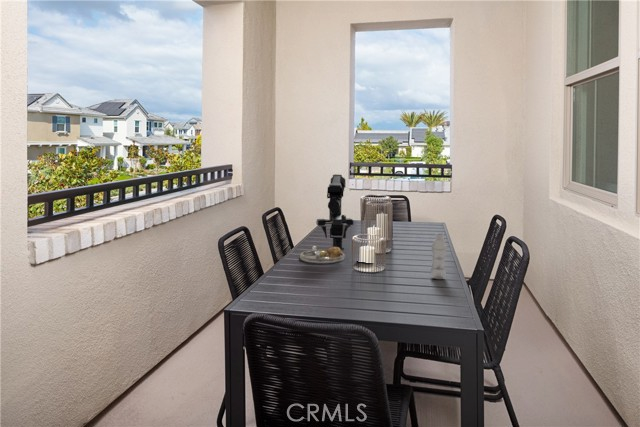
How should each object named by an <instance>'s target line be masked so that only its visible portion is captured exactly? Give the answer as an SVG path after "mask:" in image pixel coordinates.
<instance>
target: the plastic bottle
mask: <svg viewBox="0 0 640 427" xmlns="http://www.w3.org/2000/svg"><path fill="white" fill-rule="evenodd" d="M434 239H435V240H434V241H433V243H432V245H431V252H432V255H431V256H432V261H431V267H430V277H431V278H432V279H435V280H443V279H445V277H446V274H447V272H446V255H447V249H448V245H447V244H446V241H445V235H444V234H441V233H436V234H435V236H434Z"/></svg>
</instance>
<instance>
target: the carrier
mask: <svg viewBox="0 0 640 427" xmlns="http://www.w3.org/2000/svg"><path fill="white" fill-rule="evenodd" d="M299 256H300V260H301V261H303V262H306V263H309V264H310V263H311V264H318V265H319V264H320V265H321V264H323V265H326V264H335V263H339V262H343V261H344V260H345V257H346V255H345V253H344V252H343V251H341V256H339V257H331V256H329V255H328V249H324V248H323V249H317V246H316V245H313V246H312V247H311V250H305V251H301V253H299Z"/></svg>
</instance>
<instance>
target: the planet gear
mask: <svg viewBox="0 0 640 427" xmlns="http://www.w3.org/2000/svg"><path fill="white" fill-rule="evenodd" d="M327 250H328V255H329V256H331V257H339V256H341V252H342V249H340V248H339V247H331V246H330V248H328V249H327Z"/></svg>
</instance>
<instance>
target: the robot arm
mask: <svg viewBox="0 0 640 427" xmlns="http://www.w3.org/2000/svg"><path fill="white" fill-rule="evenodd" d="M329 181H330V182H329V184H328V186H327V192H326V199H329V201H328V203H327V208H328V209H329V211H328V212H329V216H328V217H329V218H328V219H329V220H328V219H325V218H317V219H316V221H315V223H316V225H317V226H319V227H320V228H321V229H322V230H321V231H322V232H323V234H324V238H325V239H327V236H328V235H327V226H326V225H330V226H331V227H329V239H332V245H331V246H330V247H339V248H340V249H341V250H344V249H345V248H344V246H343V240H344V239H346V238H347V230H348V228H350V227H351V226H353V225H354V220H353V219H352V218H351V217H348V218H347V215H346V214H342V198H343V197H344V193H345V188H346V179H345V177H343V175H342V174H332V177H331V178H330V180H329Z"/></svg>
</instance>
